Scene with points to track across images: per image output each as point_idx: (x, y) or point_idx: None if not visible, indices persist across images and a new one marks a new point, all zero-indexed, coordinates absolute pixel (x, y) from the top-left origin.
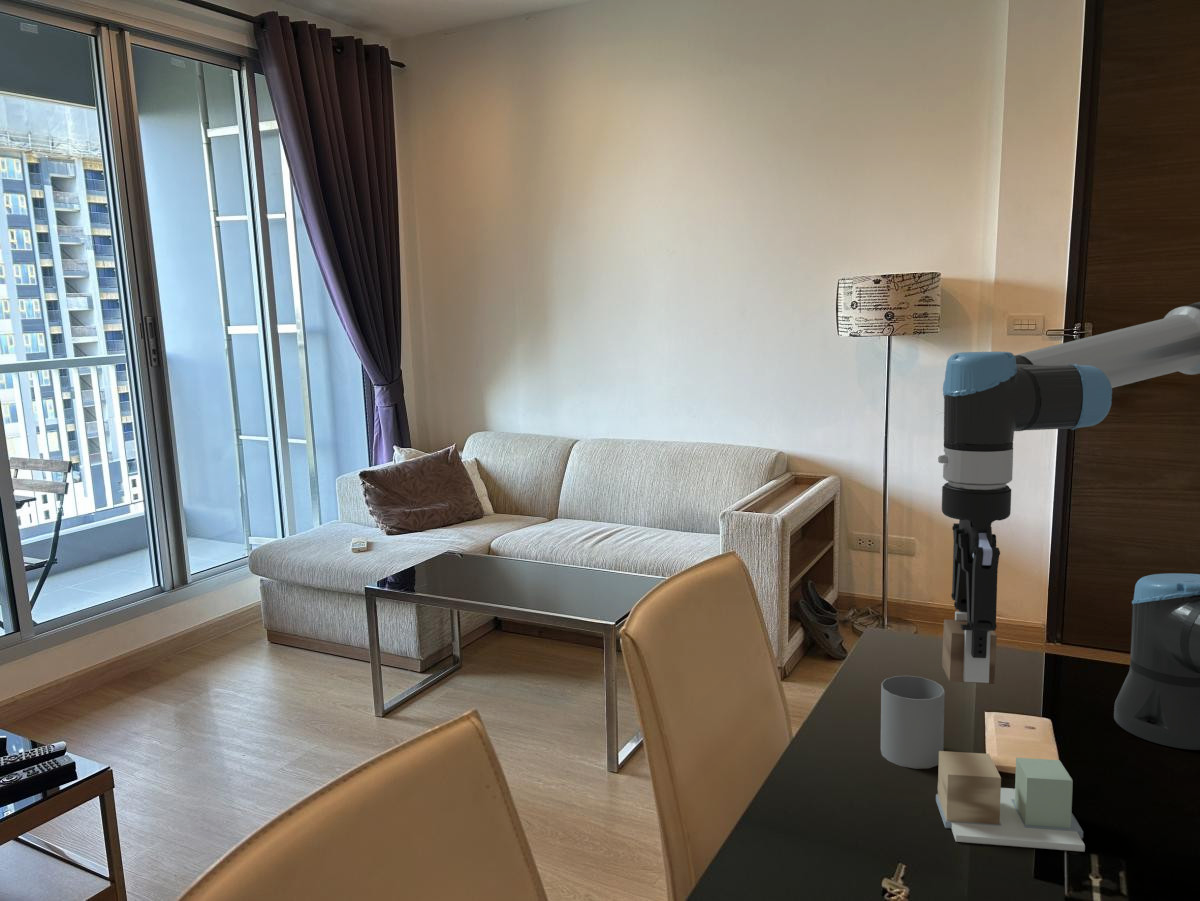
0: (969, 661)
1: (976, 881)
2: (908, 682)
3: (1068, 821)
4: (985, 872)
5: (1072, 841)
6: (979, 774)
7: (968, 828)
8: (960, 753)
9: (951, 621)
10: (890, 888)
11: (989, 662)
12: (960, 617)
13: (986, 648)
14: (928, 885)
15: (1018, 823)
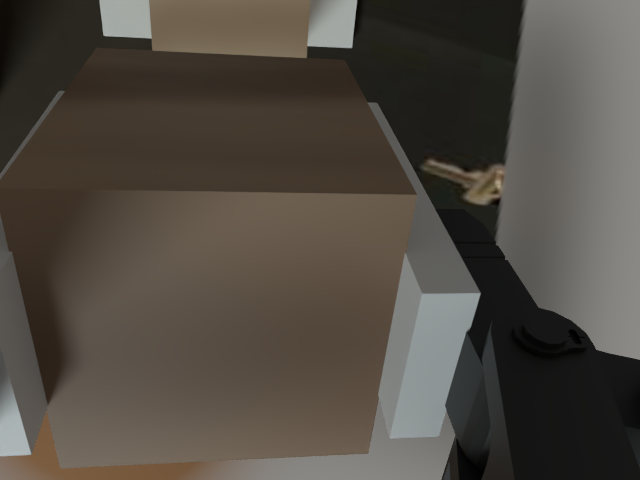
0: None
1: (489, 36)
2: None
3: None
4: (462, 7)
5: None
6: (297, 4)
7: (320, 10)
8: (161, 29)
9: (101, 435)
10: (494, 192)
11: (404, 154)
12: (34, 400)
13: (501, 251)
14: (492, 129)
15: None
